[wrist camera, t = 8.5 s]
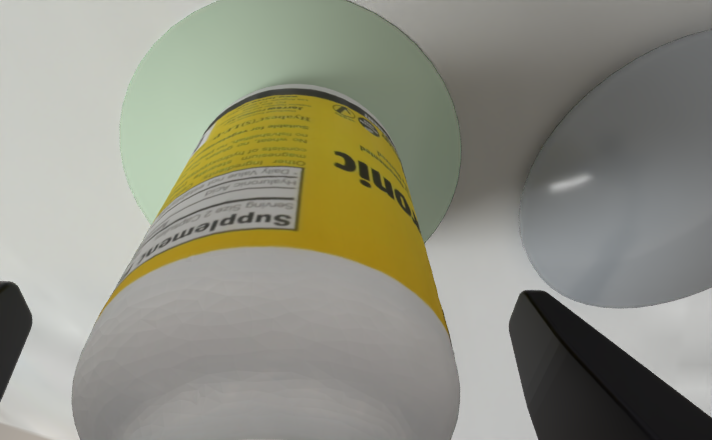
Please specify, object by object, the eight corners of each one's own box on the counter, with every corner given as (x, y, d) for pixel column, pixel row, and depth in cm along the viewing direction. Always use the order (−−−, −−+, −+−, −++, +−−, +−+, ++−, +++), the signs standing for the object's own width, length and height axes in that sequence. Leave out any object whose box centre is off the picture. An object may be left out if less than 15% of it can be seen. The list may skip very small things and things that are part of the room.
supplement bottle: (421, 225, 13) (555, 719, 5) (253, 270, 14) (144, 761, 6) (370, 44, 10) (504, 562, 2) (158, 114, 11) (-323, 692, 3)
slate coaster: (723, 293, 16) (739, 309, 16) (484, 290, 16) (491, 307, 15) (914, 33, 11) (951, 40, 11) (573, 10, 10) (590, 16, 10)
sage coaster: (425, 281, 16) (429, 297, 15) (161, 276, 15) (153, 293, 14) (488, 1, 11) (499, 6, 10) (92, -32, 10) (75, -28, 9)
